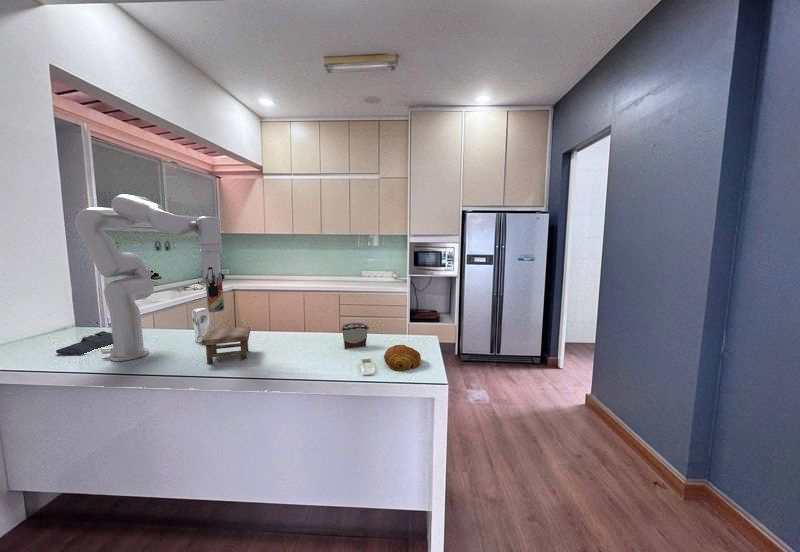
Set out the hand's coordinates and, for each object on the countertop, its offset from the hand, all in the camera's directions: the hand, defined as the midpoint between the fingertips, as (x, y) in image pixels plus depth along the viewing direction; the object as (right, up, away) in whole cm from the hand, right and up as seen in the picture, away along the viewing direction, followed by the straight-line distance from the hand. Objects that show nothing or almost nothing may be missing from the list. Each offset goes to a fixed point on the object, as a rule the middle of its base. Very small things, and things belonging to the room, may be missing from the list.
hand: (214, 294), depth 132 cm
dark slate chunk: (-64, -25, +16) cm, 70 cm away
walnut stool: (+3, -26, +5) cm, 26 cm away
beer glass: (-20, -23, +25) cm, 39 cm away
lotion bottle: (0, -7, +1) cm, 7 cm away
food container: (+52, -24, +19) cm, 61 cm away
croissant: (+74, -27, -1) cm, 79 cm away
